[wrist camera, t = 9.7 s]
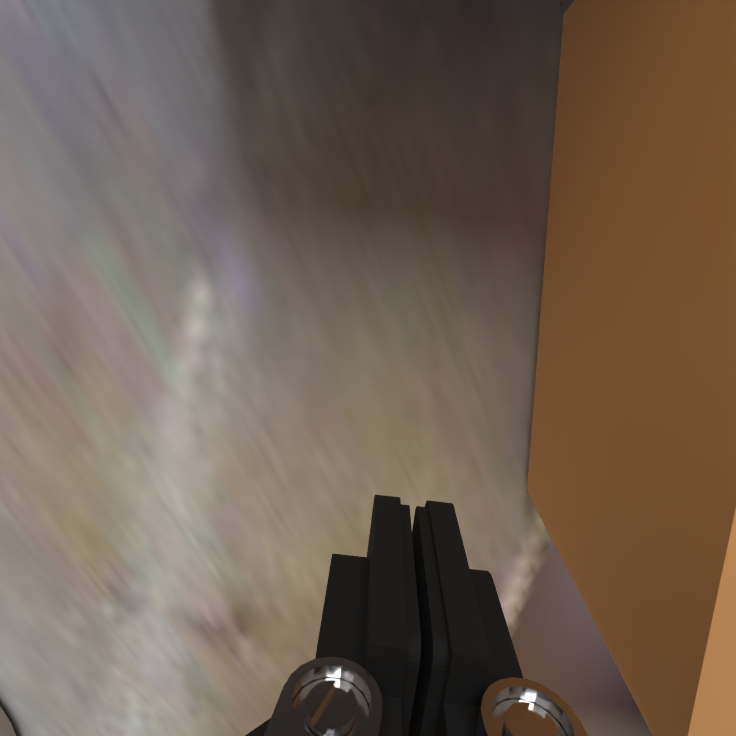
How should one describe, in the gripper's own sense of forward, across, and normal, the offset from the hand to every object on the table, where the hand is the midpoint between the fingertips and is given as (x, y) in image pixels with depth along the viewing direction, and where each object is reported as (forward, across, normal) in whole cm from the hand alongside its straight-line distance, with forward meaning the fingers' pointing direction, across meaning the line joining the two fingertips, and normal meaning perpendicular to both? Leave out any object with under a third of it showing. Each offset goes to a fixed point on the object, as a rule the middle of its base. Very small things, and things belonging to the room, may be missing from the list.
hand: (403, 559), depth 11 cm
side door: (+6, -4, -6) cm, 9 cm away
